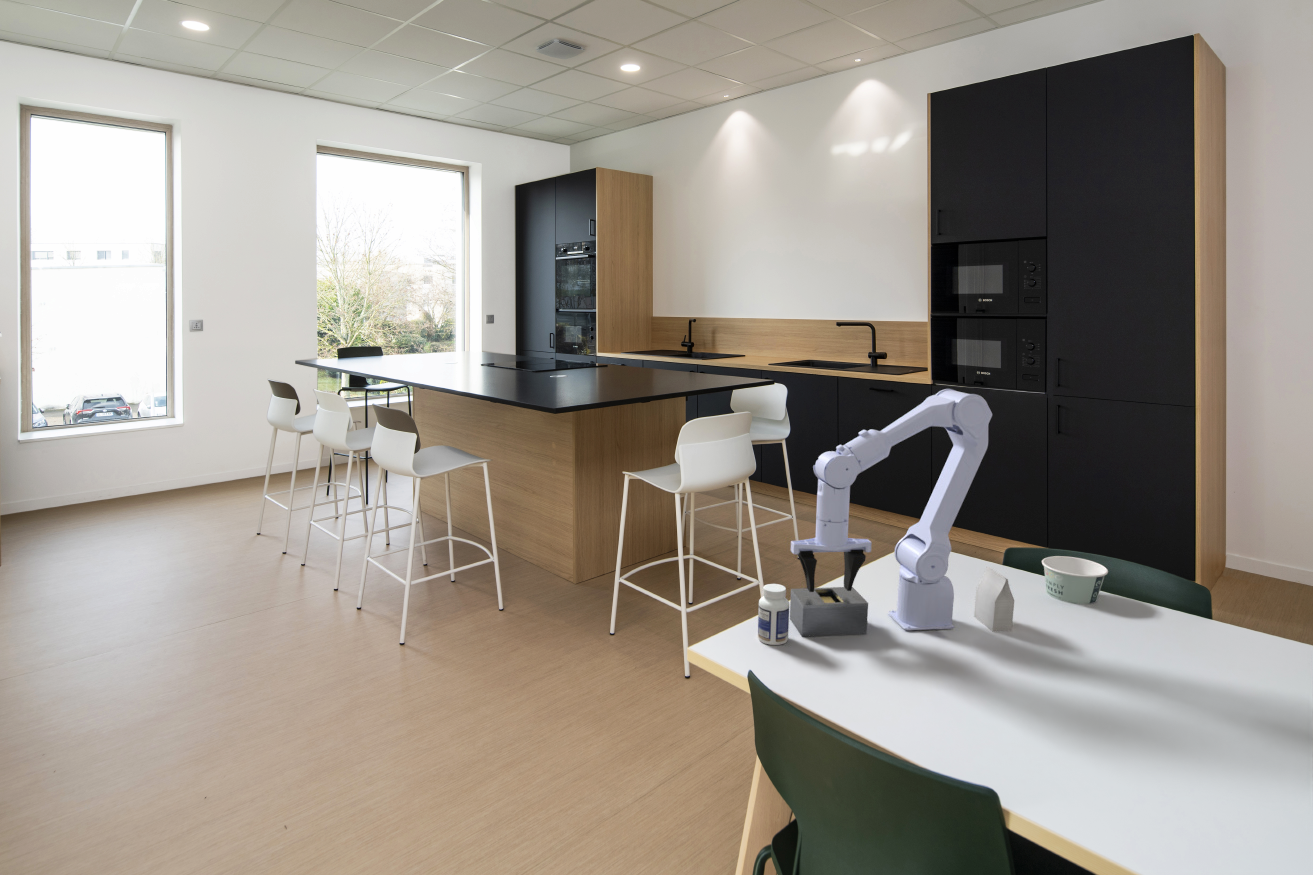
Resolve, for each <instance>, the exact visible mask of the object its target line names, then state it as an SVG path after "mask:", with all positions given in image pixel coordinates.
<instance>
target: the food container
mask: <svg viewBox="0 0 1313 875" xmlns="http://www.w3.org/2000/svg"><path fill="white" fill-rule="evenodd" d="M1041 564H1042V566H1043V569H1044V570H1043V572H1044V581H1045V590H1046V594H1047V595H1048V596H1049V597H1051V598H1053V599H1055V600H1058V601H1061V602H1065V603H1070V604H1077V605H1090V604H1094V603H1096V602H1097V600H1098V598H1099V596H1100V592H1101V589H1102V586H1103V582H1104V579H1105V576H1106V575H1108V573H1109V569H1108V568H1106V567H1105V566H1104V565H1103V564H1101V563H1098V562H1096V561H1093V560H1089V559H1086V558H1081V557H1073V556H1061V555H1055V556H1053V555H1052V556H1048V557H1045V558H1043V559H1042V560H1041Z"/></svg>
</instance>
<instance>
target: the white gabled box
mask: <svg viewBox="0 0 1313 875" xmlns="http://www.w3.org/2000/svg"><path fill="white" fill-rule="evenodd" d="M975 588H976V589H975V599H974V600H975V601H974V612H973V613H974V614H973V617H974V618H975V619H976V620H977V621H979V622H980V623H981V624H982V625H984V626H985V627H986V628H987V629H988V630H990V631H991V632H1012V629H1013V621H1014V608H1015V599H1014V598H1015V597H1014V596H1013V593H1012V590H1011V587H1010V584H1009V579H1008V578H1007V577H1005V576H1003V575H1001V574H1000V573H999V572H997V570H995V569H993V568H992V567H990V566H988V567H987V566H986V568H985V570H984V573H983V575H982V577H981V579H980V580H979V583H978V584H977V586H976V587H975Z"/></svg>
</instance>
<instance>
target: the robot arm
mask: <svg viewBox="0 0 1313 875" xmlns="http://www.w3.org/2000/svg"><path fill="white" fill-rule="evenodd" d="M992 417H993V413H992V411H991V409H990V407H989V405H988V402H987V400H986V399H984V397H982V396H981V395H979V394H975V393H966V392H961V391H957V390H955V389H953V388H945V389H942V390H939V391H938V392H937V393H935V394H933V395H930V396H928V397H926V398H925V400H923V402H921V403H920V404H918V405H917V406H916V407H914V408H913V409H911V410H910V411H908V412H907V413H905V414H904V415H902V416H901V417H899V418H898V419H896V420H895V421H893V422H892V423H890V424H889V425H887V426H885V427H884V428H883V429H881V430H877V429H869V430H866V429H862V430H861V431H859V432H858V436H857V437H855V438H853V439H852V440H850V441H848V442H847V443H845V444H843V445H842V444H839V445H837V446H836V447H835V449H836V450H835V451H833V450H831V451H830V450H829V451H825V452H823V453H821V454H820V455H818V457H817V458H818V459H817V460H816V461H815V464H813V466H812V468H813V474H814V475H815V477H817V493H816V514H815V515H816V516H815V518H816V520H815V537H813V538H806V539H800V540H799V539H798V540H791V541H790V552H791V553H792V554H793V555H796V556H797V557H798V560H799V561H800V564H801V567H802V570H803V574H804V578H805V583H806V588H807V589H808V590H809V592H814V588H815V575H816V568H817V564H818V563H817V562H818V560H817V559H816V558H815V553H838V552H839V553H843V561H844V573H843V587H844V588H845V589H846V590H847V591H851V589H852V587H853V585H854V582H855V579H856V577H857V574H858V572H859V571H860V569H861V567H862V566H863V564H864V563H865V561H866V559H867V558H866V557H867V556H866V554H865V553H871V552H872V541H871V540H869V538H852V537H849V536H848V535H849V518H850V517H849V515H850V499H851V498H850V495H851V486H852V485H853V483H854V482H855V481H856V479H857V476H858V475H859V474H860V473H863V472H864V471H866V470H867V469H869V468H871V467H873V466H874V465H876V464H877V463H879V462H881V461H882V460H884V459H886V458H888V457H889V455H890V452H891V449H892V447H894V446H895V445H898V444H899V443H900V442H903V441H904V440H907V439H908V438H909V439H910V437H912V436H914V435H916V434H918V433H920V432H922V431H925V430H926V429H928V428H930V427H939V428H940V427H941V428H944V429H945V430H946V431H947V433H948V436H949V438H950V440H951V442H952V445H953V446H952V448H951V450H950V452H949V454H948V457H947V459H946V462H945V464H944V466H943V468H942V470H941V473H940V475H939V478H938V480H937V481H936V484H935V486H934V488H933V490H932V493H931V495H930V497H929V500H928V502H927V504H926V506H925V507H924V510H923V513H922V515H921V517H920V520H919V521H918V522H917V523H914V524H912V525H911V526H909V528H908V529H907V532H906V534H905V535H904V536H903V537H901V539H899V541H897V543H896V545H895V546H894V558H895V560H896V562H897V563H898V564H899V572H898V574H899V575H898V588H897V590H898V591H897V601H896V602H897V604H896V610H889V611H888V615H889V616H890V617H891V618H892V619H893V620H894V621H895V622H896V623H897V624H898V625H899V626H900V627H901V628H902V629H903V630H905V631H922V630H923V631H924V630H925V631H927V630H947V629H948V630H949V629H950V630H951V629H954V627H955V626H954V625H953V614H954V612H953V611H954V597H955V593H954V591H955V590H954V586H953V582H952V580H951V579H950V578H949V577H948V576H946V574H947V572H948V568H949V558H950V553H951V552H952V544H951V540H950V538H949V533H950V531H951V529H952V527H953V524H954V522H955V520H956V518H957V516H958V515H959V514H958V513H959V511H960V509H961V507H962V505H963V502H964V500H965V498H966V496H967V494H968V491H969V489H970V487H971V485H972V483H973V480H974V478H975V476H976V474H977V472H978V470H979V467H980V465H981V462H982V460H983V458H984V457H985V454H986V452H987V450H988V447H989V423H990V421H991V419H992Z"/></svg>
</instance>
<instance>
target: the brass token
mask: <svg viewBox="0 0 1313 875" xmlns="http://www.w3.org/2000/svg"><path fill="white" fill-rule="evenodd" d="M821 599H822V600H823V601H824V602H825V603H835V601H834V600H833V599H832V598H831V597H821Z"/></svg>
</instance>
